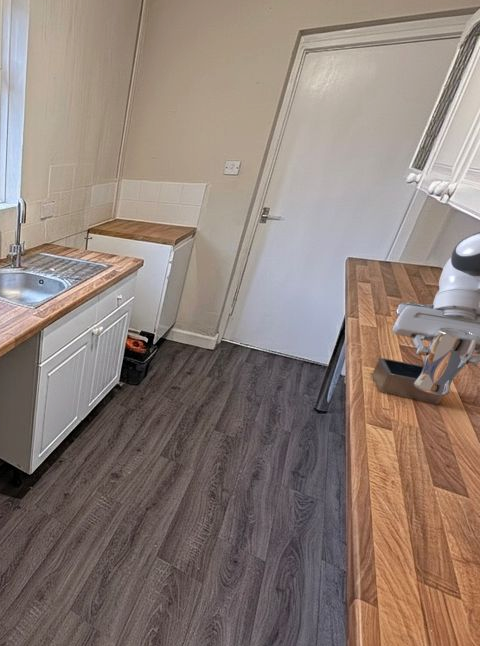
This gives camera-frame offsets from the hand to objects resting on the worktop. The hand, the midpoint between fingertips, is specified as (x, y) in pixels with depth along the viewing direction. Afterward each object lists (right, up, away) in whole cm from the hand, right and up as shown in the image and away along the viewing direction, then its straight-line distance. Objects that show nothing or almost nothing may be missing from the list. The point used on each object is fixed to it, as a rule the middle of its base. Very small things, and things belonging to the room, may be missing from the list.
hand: (446, 359), depth 98 cm
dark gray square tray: (+11, -10, +20) cm, 25 cm away
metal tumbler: (0, -8, +4) cm, 9 cm away
